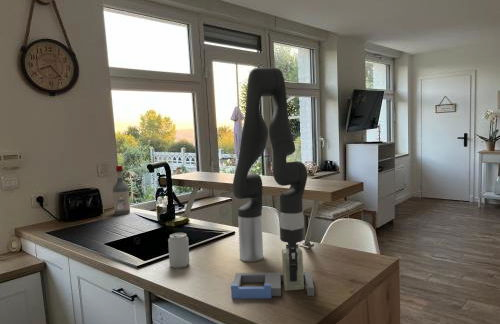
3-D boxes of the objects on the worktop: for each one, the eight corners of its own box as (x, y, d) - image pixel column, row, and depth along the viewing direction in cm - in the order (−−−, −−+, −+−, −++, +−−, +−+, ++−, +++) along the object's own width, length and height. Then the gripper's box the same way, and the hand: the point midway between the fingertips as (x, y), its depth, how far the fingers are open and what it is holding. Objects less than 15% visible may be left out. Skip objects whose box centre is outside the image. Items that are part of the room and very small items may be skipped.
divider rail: (236, 280, 126) (235, 268, 126) (310, 279, 125) (310, 267, 124) (231, 298, 113) (231, 285, 112) (314, 298, 111) (314, 285, 111)
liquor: (130, 214, 230) (126, 166, 227) (114, 215, 227) (110, 167, 224) (130, 211, 239) (126, 164, 236) (114, 212, 236) (111, 165, 233)
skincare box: (302, 284, 121) (301, 247, 120) (304, 289, 117) (303, 252, 116) (282, 285, 121) (281, 248, 120) (284, 290, 117) (283, 253, 116)
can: (167, 263, 144) (166, 233, 142) (187, 260, 146) (185, 230, 145) (171, 270, 137) (170, 238, 136) (191, 266, 140) (190, 235, 138)
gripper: (279, 219, 124) (280, 268, 126) (280, 232, 110) (281, 287, 112) (301, 219, 124) (303, 268, 125) (305, 231, 110) (306, 286, 111)
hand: (293, 276), depth 119 cm, fingers open, 5 cm apart
